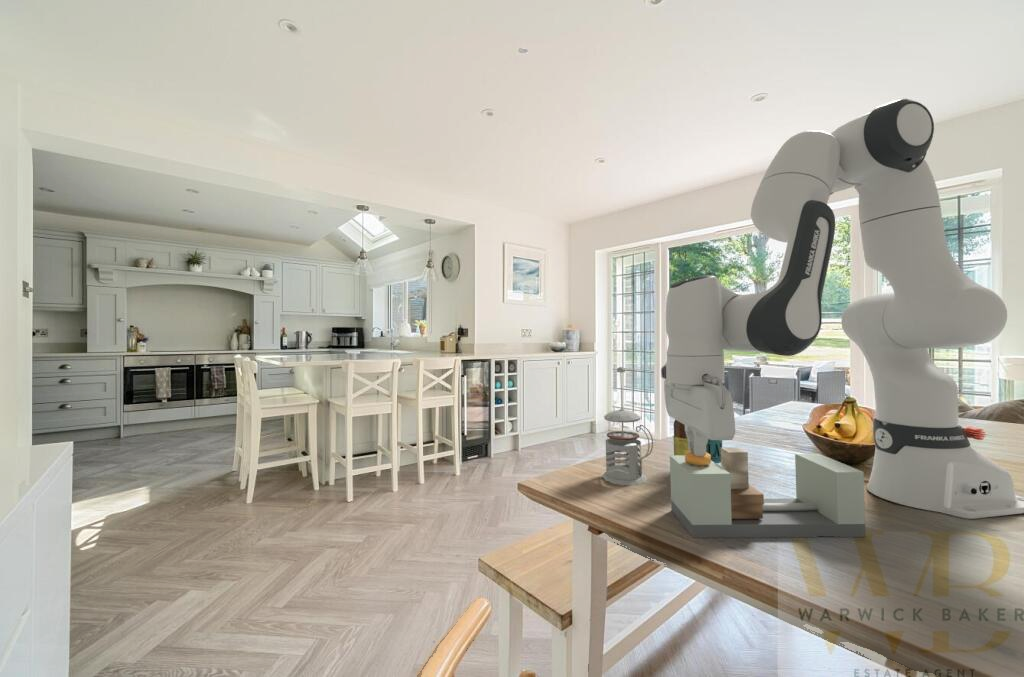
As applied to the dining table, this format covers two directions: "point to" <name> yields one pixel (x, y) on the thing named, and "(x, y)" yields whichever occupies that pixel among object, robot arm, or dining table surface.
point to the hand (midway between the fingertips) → (697, 453)
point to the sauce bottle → (680, 439)
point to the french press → (624, 449)
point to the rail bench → (771, 501)
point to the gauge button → (697, 459)
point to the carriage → (741, 485)
